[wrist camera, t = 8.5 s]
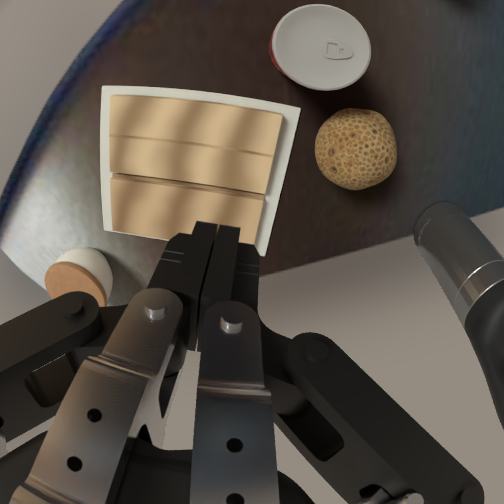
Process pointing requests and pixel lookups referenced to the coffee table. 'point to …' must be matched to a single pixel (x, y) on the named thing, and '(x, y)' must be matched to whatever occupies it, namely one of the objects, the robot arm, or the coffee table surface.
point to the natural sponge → (356, 148)
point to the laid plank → (180, 207)
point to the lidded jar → (80, 274)
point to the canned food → (320, 47)
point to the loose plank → (192, 141)
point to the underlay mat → (269, 198)
